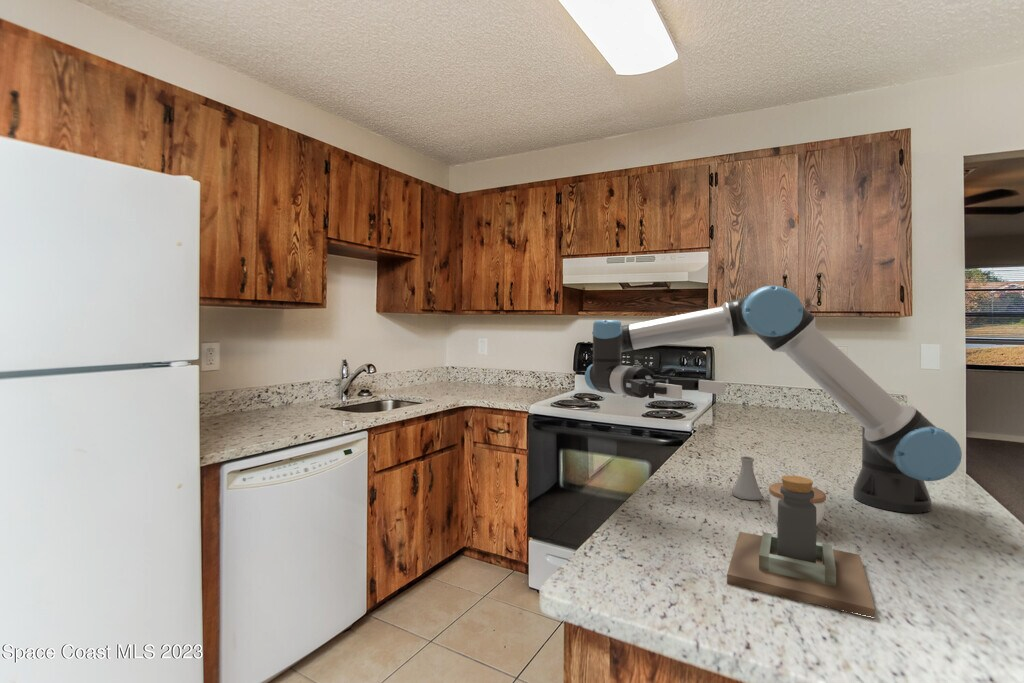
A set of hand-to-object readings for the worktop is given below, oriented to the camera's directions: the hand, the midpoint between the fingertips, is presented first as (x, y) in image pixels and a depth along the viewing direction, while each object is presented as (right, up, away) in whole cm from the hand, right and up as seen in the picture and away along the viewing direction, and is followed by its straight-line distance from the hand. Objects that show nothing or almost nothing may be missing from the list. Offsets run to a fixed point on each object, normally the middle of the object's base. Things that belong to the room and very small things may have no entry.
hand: (703, 390), depth 101 cm
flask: (+20, -30, +22) cm, 42 cm away
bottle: (+9, -29, -17) cm, 35 cm away
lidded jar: (+22, -30, +3) cm, 37 cm away
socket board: (+9, -30, -17) cm, 36 cm away
